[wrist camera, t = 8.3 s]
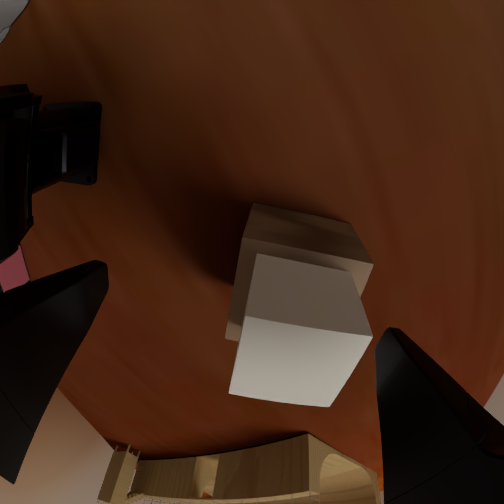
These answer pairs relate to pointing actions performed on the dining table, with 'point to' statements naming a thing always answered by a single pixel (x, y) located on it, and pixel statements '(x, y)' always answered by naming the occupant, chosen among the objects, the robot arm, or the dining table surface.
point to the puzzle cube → (13, 271)
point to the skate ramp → (245, 476)
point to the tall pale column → (10, 14)
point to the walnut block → (294, 251)
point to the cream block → (299, 333)
